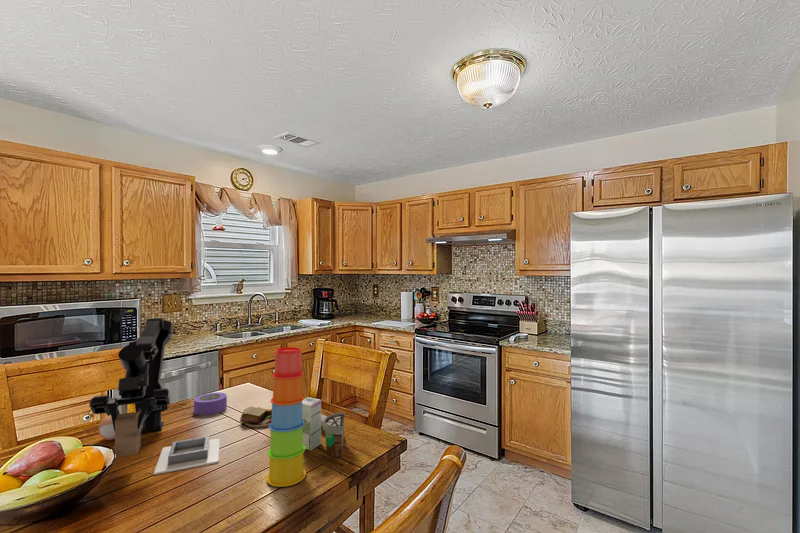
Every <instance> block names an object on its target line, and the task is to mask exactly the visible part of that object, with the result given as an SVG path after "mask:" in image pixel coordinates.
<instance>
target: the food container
mask: <svg viewBox="0 0 800 533" xmlns="http://www.w3.org/2000/svg"><path fill="white" fill-rule="evenodd" d="M322 430H323V431H324V433H325V434H324V436H325V449H326V450H325V451H326V455H327V457H329V458H330V459H334V460H343V455H342V454H343V453H344V448H343V447H345V412H342V411H341V412H335V413H332V414H330V415H327V417H326V418H325V421H324V424H323V426H322Z"/></svg>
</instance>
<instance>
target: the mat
mask: <svg viewBox="0 0 800 533" xmlns="http://www.w3.org/2000/svg"><path fill="white" fill-rule="evenodd" d="M220 440H221V438H212V439H209V450H208V458H207V459H201V460H196V461H190V462H185V463H179V464H174V465H168V455H169V452H170V449H171V446H172V445H171V446H165V447H162V449H161V452H160V455H159V458H158V460H157V462H156V466H155V468H154V472H153V476H154V475H160V474H165V473H171V472H177V471H183V470H187V469H193V468H197V467H204V466H208V465H214V464H219V463H220V462H219V460H220V442H221V441H220ZM201 449H204V446H201V447H195V448H189V449H183V450H178V451H176V453H175V454H178V453H184V452H190V451H195V450H201Z"/></svg>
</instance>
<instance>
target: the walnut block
mask: <svg viewBox="0 0 800 533" xmlns="http://www.w3.org/2000/svg"><path fill="white" fill-rule="evenodd" d="M140 413H141V411H139V412H136V411H133V412H126V413H125V412H124V413H119V416H118V417H117V419H116V420H115V439H114V455H115V454H116V457H115V458H119V457H126V456H132V455H137V454H138V452H139V451H140V448H141V446H142V443H141V442H142V440H141V439H142V433H141V427H142V426H141V427H140V429H138V421H139V417H140Z"/></svg>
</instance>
